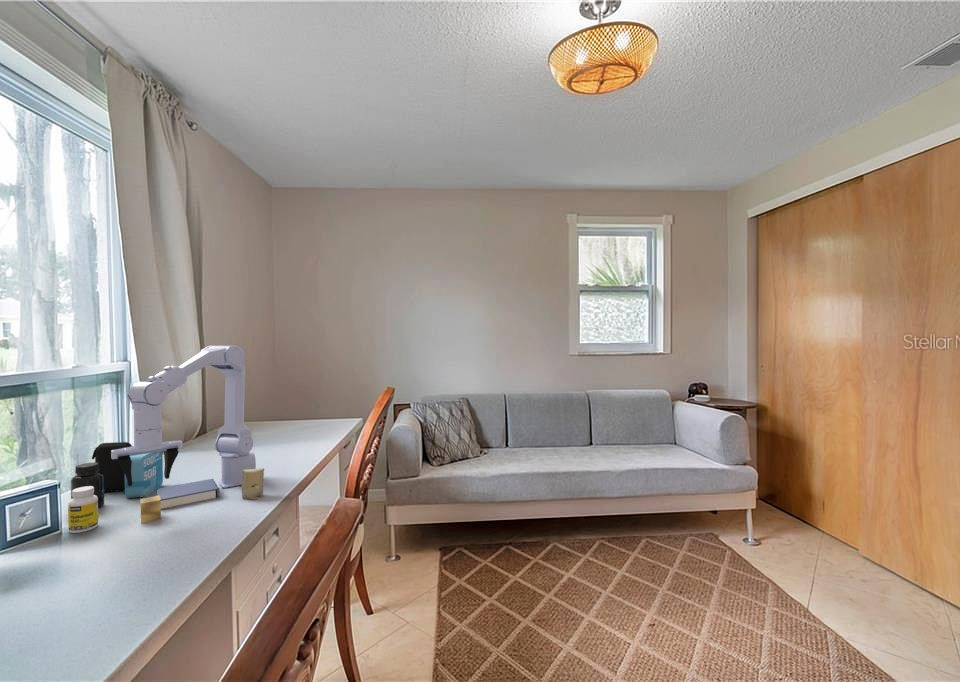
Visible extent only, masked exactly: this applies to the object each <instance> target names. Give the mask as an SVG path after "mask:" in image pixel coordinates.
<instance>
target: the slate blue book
mask: <svg viewBox="0 0 960 682" xmlns="http://www.w3.org/2000/svg"><path fill="white" fill-rule="evenodd" d="M156 496H160V499H161V509H162V510H167V509H171V507H172V508H176V507H180V506H186V505H191V504H196V503H201V502H206V501H211V500H217V499H219V498H220V488H219V486H218V484H217V483H216V481H215V479H214V478H209V479H204V480H199V481H193V482H186V483H181V484H176V485H170V486H165V487H159V488H157V489H156ZM166 508H167V509H166Z"/></svg>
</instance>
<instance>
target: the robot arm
mask: <svg viewBox="0 0 960 682" xmlns="http://www.w3.org/2000/svg"><path fill="white" fill-rule="evenodd" d="M245 353H246V352H245V351H244V350H243V349H242V348H241V347H240V346H239V345H236V344H233V345H215V344H210V345H208V346H206V347H204V348H202V349H201V350H200V352H198V353H197V354H196V355H194V356H192V357H191V358H190V359H188V360H186V361H185V362H184V363H182V364H180V365H179V366H177V365H171V366H170V365H167V366H165V367H163V368H162V369H163V370H162V371H160V372H159V373H156V374H155V375H151V376H149V377H147V380H146V381H138V382H136V383H134V384H133V385H132V386H131V387H130V389H129V391H128V393H127V394H126V398H127V400H128V401H129V403H130V405H131V409H132V410H133V445H132V447H127V448H122V449H116V450H111V458H112V459H117V460H118V462H119V463H120V465H121V467H122V468H123V471H124V473H125V475H126V479H127V484H128V486H132V475H131V465H132V460H131V457H130V456H134V455H140V454H147V453H153V452H160V451H162V452H163V456H164V468H163V470H164V471H163V472H164V473H163V478H164V479H166V480H168V479H170V475H171V471H172V468H173V465H174V463H175V461H176V459H177V457H178V455H179V450H182V449H183V440H171V441H163V434H162V433H163V431H162V430H163V429H162V427H163V424H162V423H163V422H162V414H163V412H162V404H163V403H164V402H165V401H166V399H167V397H168V395H169V394H170V393H172V392H173V391H175V390H177V389H178V388H179V387H181V386H182V385H184V384H186V383H187V381H188V377H189V376H191V375H193V374H194V373H196V372H199V370H202V369H204V368H205V367H208V366H210V367H212V368H215V369H217V370H219V371H220V372H221V373H222V374H224V376H225V386H224V387H225V389H224V390H225V391H224V424H223V425H222V426H221V427H220V428H219V429H218V430H217V437H216V439H215V442H214V448H215V450H216V452H218V453H219V456H220V457H221V458H220V461H221V462H220V463H221V466H220V467H221V479H219V480H218V483H219V485H220V487H221V488H222V489H228V488H232V487H238V486H242V476H243V473H242V471H243V470H248V469H257V466H256V464H257V463H256V462H257V460H256V454H255V453H254V452H253V451H252V452H251V450H252V449H253V446H254V439H253V436H252V429H251V428H250V427H248V426H247V425H246V424H245V397H246V387H245V386H246V366H245Z"/></svg>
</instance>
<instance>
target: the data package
mask: <svg viewBox="0 0 960 682" xmlns="http://www.w3.org/2000/svg"><path fill="white" fill-rule="evenodd" d="M163 456H164V452H163V451H160V452H153V453H147V454H140V455H134V456H130V457H131V460H132V465H131V475H132V486H128V484H127V479H126V475H125V491H124V496H125V498H127V499H132V498H133V499H134V498H135V499H136V498H146V497H147V496H148V495H149V494H151V493H152V492H154V491H155V490H156V491H157V489H158V488H161V486H162V485H163V484H164V483H163V482H164V473H163V472H164V471H163V470H164V467H163V465H164V464H163V463H164V462H163V461H164V460H163Z"/></svg>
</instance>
